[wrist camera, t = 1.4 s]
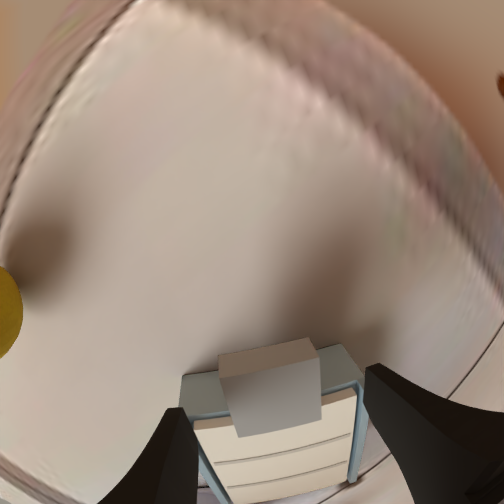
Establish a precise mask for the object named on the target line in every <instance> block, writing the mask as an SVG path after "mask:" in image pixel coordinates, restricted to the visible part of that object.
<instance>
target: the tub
mask: <svg viewBox="0 0 504 504" xmlns="http://www.w3.org/2000/svg"><path fill="white" fill-rule="evenodd" d="M316 352H317V353H318V355H319V357H320V379H321V396H324V395H328V394H331V393H335V392H338V391H341V390H344V389H348V388H351V387H352V388H353V390H354V391H355V393H356V394H357V400H356V411H355V421H354V429H353V437H352V445H351V452H350V459H349V465H348V471H347V478H348V480H349V482H350V483H352V482H355V481H356V479H357V475H358V471H359V466H360V462H361V457H362V452H363V447H364V442H365V437H366V431H367V425H368V419H369V415H368V413H367V411H366V408H365V406H364V404H363V393H364V382H365V376H364V375H363V373H362V372H361V370H360V369H359V368H358V366H357V365H356V363H355V362H354V361H353V359H352V358H351V356H350V355H349V354H348V352H347V351H346V349H345V348H344V347H343V345H342V344H341V343H340V344H337V345H333V346H329V347H326V348H322V349H318V350H316ZM179 407H183V409H184V411H185V413H186V415H187V417H188V420H189V422H190V424H191V426H192V428H193V430H194V421H196V420H205V419H213V418H221V417H228V416H231V415H230V412H229V409H228V406H227V403H226V399H225V396H224V393H223V390H222V387H221V383H220V380H219V370H218V371H212V372H205V373H198V374H191V375H183V376H182V382H181V390H180V398H179ZM197 439H198V438H197ZM198 452H199V471H200V473H201V474H202V476H203V477H204V479H205V481H206V482H207V484H208V485H209V487H210V488H211V490H212V491H213V493H214V494H215V496H216V497H217V498H218V500H219V501H220V503H221V504H232V503H231V498H230V497H229V495H228V493H227V492H226V490H225V488H224V487H223V485H222V483H221V481H220V480H219V478H218V476H217V474H216V473H215V471H214V469H213V467H212V465H211V463H210V462H209V460H208V458H207V456H206V454H205V452H204V450H203V448H202V446H201V444H200V442H199V440H198Z"/></svg>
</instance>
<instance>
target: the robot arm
mask: <svg viewBox="0 0 504 504" xmlns="http://www.w3.org/2000/svg"><path fill="white" fill-rule="evenodd" d="M363 404H364V406H365V408H366V411H367V413H368V415H369V417H370V419H371V421H372V423H373V425H374V426H375V428H376V429H377V431H378V433H379V434H380V436H381V437H382V439H383V440H384V442H385V444H386V445H387V447H388V448H389V450H390V451H391V453H392V454H393V456H394V458H395V459H396V461H397V463H398V465H399V467H400V469H401V471H402V473H403V476H404V478H405V480H406V482H407V485H408V487H409V490H410V492H411V495H412V497H413V500H414V503H415V504H504V412H494V411H488V410H482V409H478V408H473V407H469V406H466V405H462V404H459V403H456V402H453V401H450V400H448V399H445V398H443V397H440V396H438V395H436V394H434V393H432V392H429V391H427V390H425V389H423V388H421V387H420V386H418V385H416V384H414V383H412V382H410V381H409V380H407V379H405V378H404V377H402V376H400V375H398V374H397V373H395V372H393V371H392V370H390V369H389V368H387V367H385V366H384V365H382V364H380V363H377V364H374V365H372V366H369V367H366V371H365V382H364V393H363ZM198 471H199V452H198V439H197V436H196V434H195V432H194V430H193V428H192V426H191V424H190V422H189V420H188V417H187V415H186V413H185V411H184V409H183V407H176V408H168V409H167V410H166V411H165V413H164V415H163V417H162V419H161V421H160V423H159V424H158V426H157V428H156V430H155V432H154V433H153V435H152V437H151V438H150V440H149V442H148V443H147V445H146V447H145V448H144V450H143V451H142V453H141V454H140V456H139V457H138V459H137V460H136V462H135V463H134V465H133V466H132V467H131V469H130V470H129V471H128V472H127V474H126V475H125V476H124V477H123V478H122V480H121V481H120V482H119V483H118V484H117V485H116V486H115V487H114V488H113V489H112V490H111V491H110V492H109V493H108V494H107V495H106V496H105V497H104V498H103V499H102V500H101V501H100V502H98V503H97V504H221V503H220V501H219V500H218V498H217V497H216V496H215V494H214V493H213V491H212V490H211V488H198ZM231 503H232V504H234V503H233V501H232V500H231Z"/></svg>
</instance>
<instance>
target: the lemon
mask: <svg viewBox="0 0 504 504" xmlns="http://www.w3.org/2000/svg"><path fill="white" fill-rule="evenodd" d="M22 321H23V304H22V298H21V295H20V292H19V289H18V287H17V285H16V283H15V281H14V279H13V278H12V277H11V275H10V274H9V273H8V272H7V271H6V270H5V269H4V268H2V267H1V266H0V358H2V357H3V356H4V355H5V354H6V353H7V352H8V351H9V349H10V348H11V347H12V345H13V344H14V342H15V340H16V339H17V337H18V335H19V332H20V329H21V325H22Z"/></svg>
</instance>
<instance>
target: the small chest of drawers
mask: <svg viewBox="0 0 504 504" xmlns="http://www.w3.org/2000/svg"><path fill="white" fill-rule="evenodd" d="M218 367H219V380H220V383H221V387H222V390H223V393H224V396H225V399H226V403H227V406H228V409H229V412H230V415H231V416H228V417H221V418H213V419H205V420H196V421H194V432H195V434H196V436H197V438H198V440H199V442H200V444H201V446H202V448H203V450H204V452H205V454H206V456H207V458H208V460H209V462H210V463H211V465H212V467H213V469H214V471H215V473H216V474H217V476H218V478H219V480H220V481H221V483H222V485H223V487H224V488H225V490H226V492H227V493H228V495H229V497H230V498H231V500H232V501H233V503H234V504H251V503H257V502H264V501H269V500H275V499H280V498H285V497H290V496H294V495H298V494H303V493H307V492H311V491H314V490H318V489H322V488H325V487H328V486H332V485H335V484H338V483H341V482H344V481H346V477H347V471H348V465H349V459H350V452H351V445H352V437H353V429H354V421H355V411H356V400H357V394H356V393H355V391H354V390H353V388H352V387H351V388H348V389H344V390H341V391H338V392H335V393H331V394H328V395H324V396H321V379H320V357H319V355H318V353H317V352H316V350H315V348H314V346H313V344H312V343H311V341H310V339H309V337H306V338H302V339H298V340H293V341H289V342H284V343H280V344H275V345H271V346H266V347H261V348H256V349H251V350H246V351H241V352H235V353H230V354H224V355H218Z"/></svg>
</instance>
